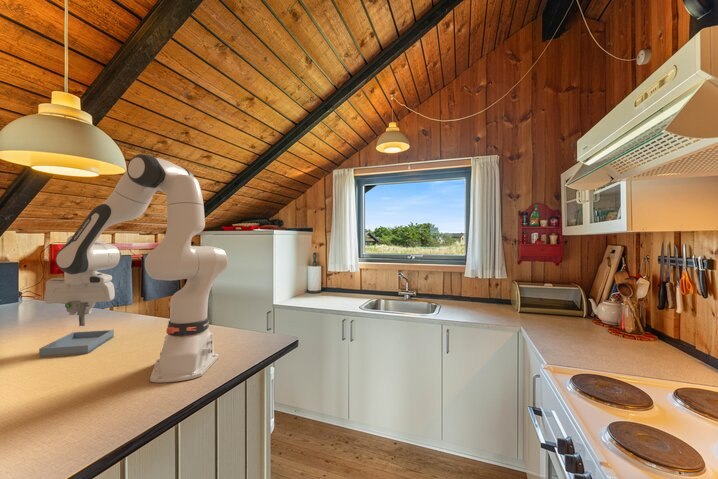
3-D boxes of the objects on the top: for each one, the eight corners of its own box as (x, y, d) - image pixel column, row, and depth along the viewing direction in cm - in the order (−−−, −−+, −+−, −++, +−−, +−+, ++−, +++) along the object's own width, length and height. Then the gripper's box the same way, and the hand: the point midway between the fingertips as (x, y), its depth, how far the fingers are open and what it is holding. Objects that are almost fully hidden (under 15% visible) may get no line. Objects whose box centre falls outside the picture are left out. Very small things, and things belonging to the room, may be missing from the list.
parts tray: (87, 353, 104) (87, 345, 104) (39, 357, 100) (39, 348, 100) (113, 337, 121) (113, 329, 121) (72, 339, 117) (73, 332, 117)
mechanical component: (98, 321, 116) (96, 296, 116) (72, 330, 106) (71, 303, 105) (90, 321, 116) (89, 296, 116) (64, 330, 106) (62, 303, 105)
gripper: (39, 279, 104) (39, 318, 104) (108, 278, 110) (107, 315, 110) (52, 276, 110) (51, 313, 111) (117, 276, 116) (116, 310, 116)
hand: (80, 314), depth 110 cm, fingers closed on mechanical component, 3 cm apart
